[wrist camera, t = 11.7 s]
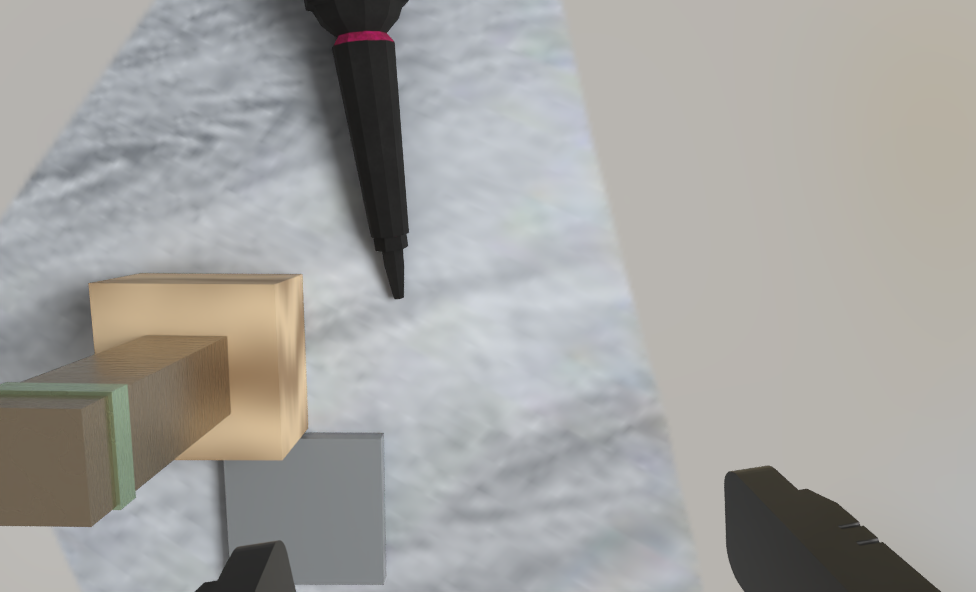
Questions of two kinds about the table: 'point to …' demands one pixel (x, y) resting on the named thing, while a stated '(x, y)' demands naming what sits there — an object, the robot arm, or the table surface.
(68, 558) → the table surface
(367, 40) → the microphone
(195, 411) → the column
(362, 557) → the coaster
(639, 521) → the table surface
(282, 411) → the rest block
